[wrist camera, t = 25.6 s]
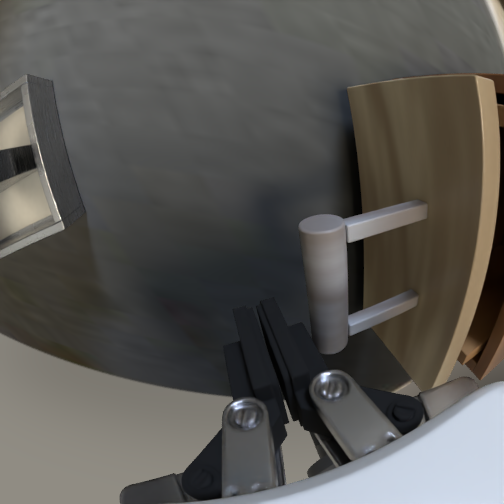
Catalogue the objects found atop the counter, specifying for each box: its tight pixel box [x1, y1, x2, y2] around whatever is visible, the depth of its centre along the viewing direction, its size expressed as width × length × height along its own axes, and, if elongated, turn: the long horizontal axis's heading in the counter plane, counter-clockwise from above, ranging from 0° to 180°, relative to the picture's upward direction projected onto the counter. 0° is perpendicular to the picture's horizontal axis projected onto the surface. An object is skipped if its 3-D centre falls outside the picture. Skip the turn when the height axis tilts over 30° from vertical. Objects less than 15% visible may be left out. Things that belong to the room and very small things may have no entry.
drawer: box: [298, 75, 504, 392], centre depth 11 cm, size 20×13×7 cm, turn 102°
